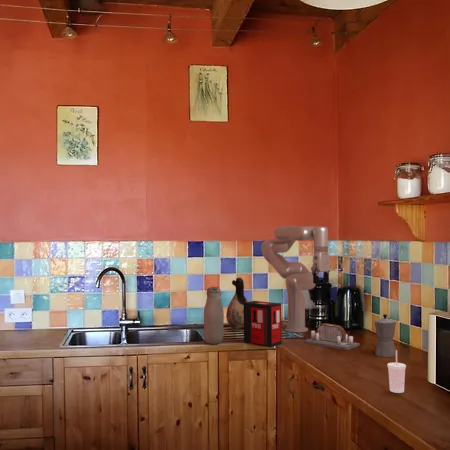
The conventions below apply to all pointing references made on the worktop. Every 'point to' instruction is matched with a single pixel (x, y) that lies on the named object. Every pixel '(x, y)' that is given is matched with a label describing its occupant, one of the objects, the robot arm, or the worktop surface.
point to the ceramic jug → (237, 307)
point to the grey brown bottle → (213, 316)
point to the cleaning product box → (262, 323)
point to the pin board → (338, 345)
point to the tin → (331, 332)
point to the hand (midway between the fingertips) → (321, 282)
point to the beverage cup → (396, 376)
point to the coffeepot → (385, 337)
